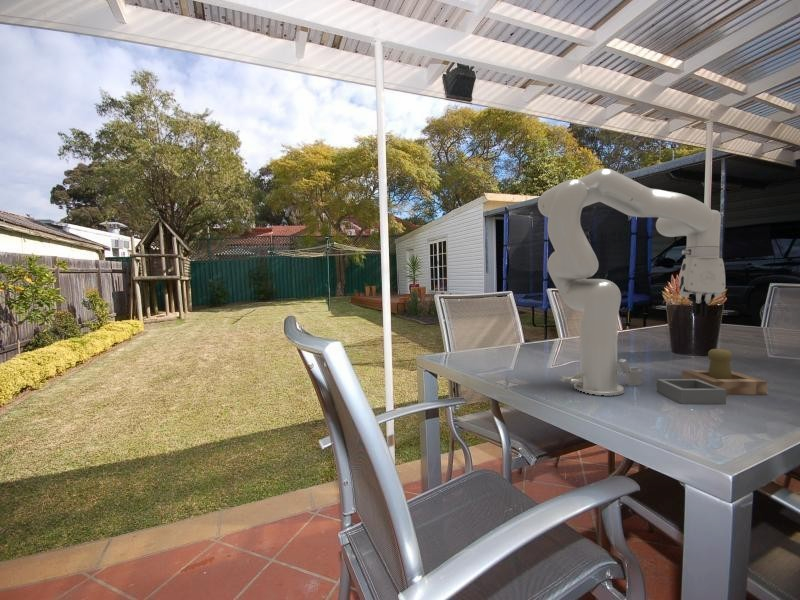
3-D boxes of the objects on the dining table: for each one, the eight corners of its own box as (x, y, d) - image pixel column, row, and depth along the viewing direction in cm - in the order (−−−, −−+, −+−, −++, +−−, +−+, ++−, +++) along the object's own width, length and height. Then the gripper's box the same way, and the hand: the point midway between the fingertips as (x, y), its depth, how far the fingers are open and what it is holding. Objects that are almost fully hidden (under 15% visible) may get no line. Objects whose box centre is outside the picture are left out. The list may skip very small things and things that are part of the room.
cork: (739, 391, 103) (739, 351, 102) (712, 390, 104) (713, 351, 104) (726, 385, 108) (726, 347, 108) (701, 384, 110) (701, 347, 109)
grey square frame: (681, 403, 94) (681, 389, 94) (657, 391, 104) (656, 379, 104) (726, 403, 93) (726, 389, 93) (697, 391, 103) (697, 379, 103)
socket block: (713, 394, 100) (713, 381, 100) (682, 381, 113) (682, 370, 113) (766, 394, 99) (767, 381, 99) (728, 381, 112) (729, 370, 112)
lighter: (637, 383, 113) (637, 357, 113) (642, 384, 112) (642, 358, 111) (617, 385, 112) (617, 358, 111) (622, 387, 110) (622, 359, 110)
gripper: (682, 252, 107) (679, 317, 108) (740, 252, 105) (737, 318, 106) (667, 254, 114) (664, 315, 115) (721, 255, 112) (718, 316, 113)
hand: (699, 316), depth 110 cm, fingers closed
